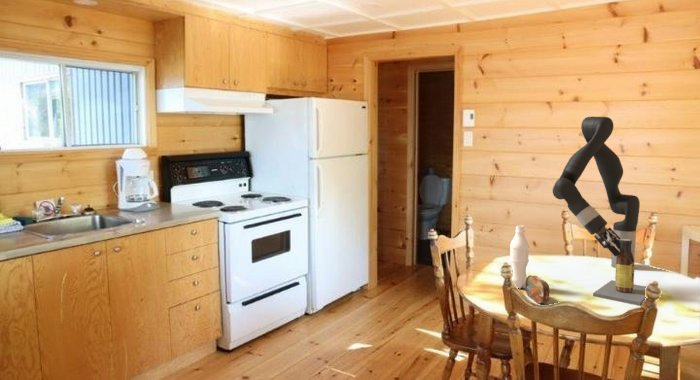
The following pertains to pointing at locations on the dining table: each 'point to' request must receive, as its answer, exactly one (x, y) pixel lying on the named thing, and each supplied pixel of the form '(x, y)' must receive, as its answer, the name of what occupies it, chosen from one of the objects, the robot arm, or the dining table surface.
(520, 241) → the water bottle
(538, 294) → the tin
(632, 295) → the charcoal board
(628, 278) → the sauce bottle
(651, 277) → the dining table surface
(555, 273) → the dining table surface
